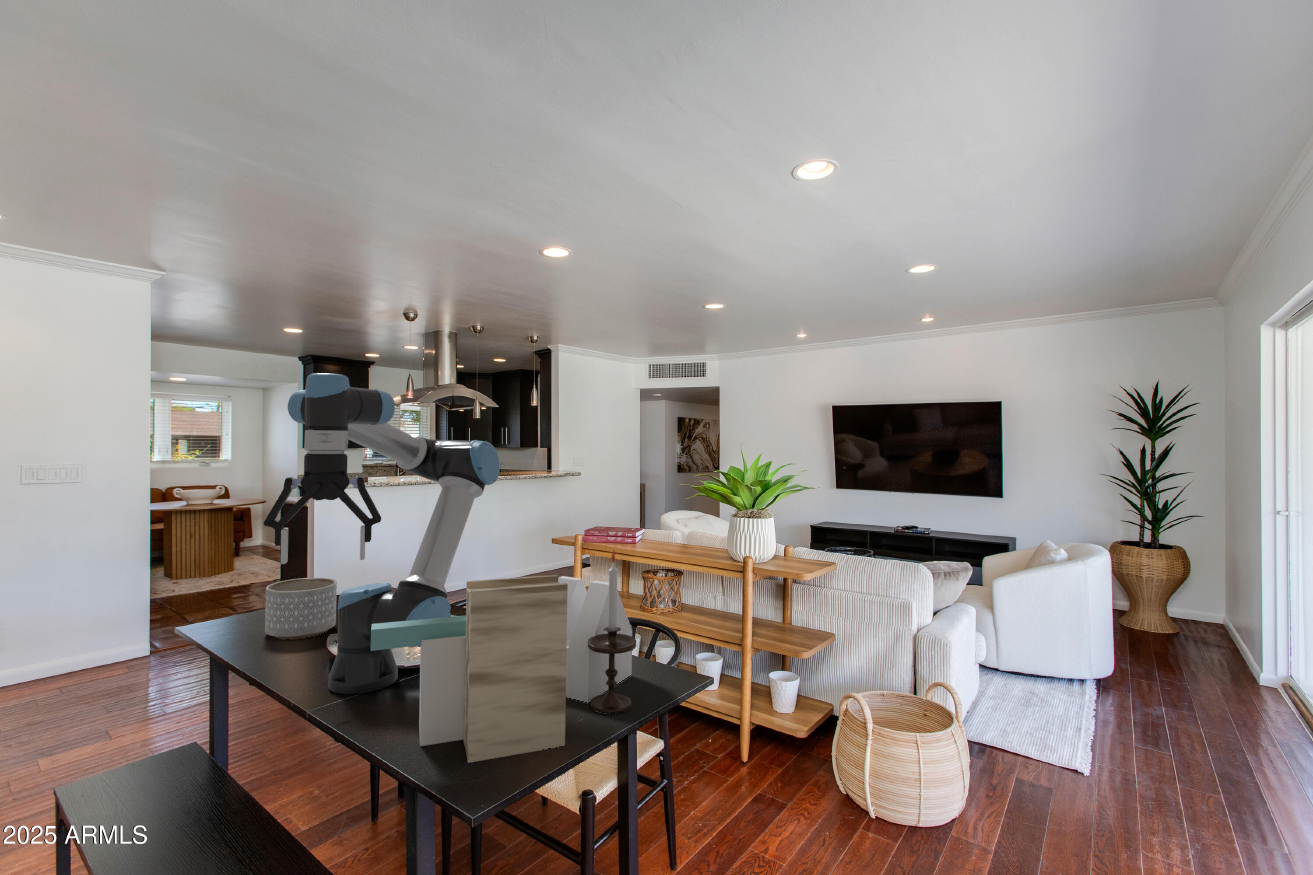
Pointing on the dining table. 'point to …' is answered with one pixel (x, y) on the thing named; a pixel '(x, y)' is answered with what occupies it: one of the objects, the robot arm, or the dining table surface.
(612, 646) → the candlestick
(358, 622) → the robot arm
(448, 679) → the white lidded box
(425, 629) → the bar
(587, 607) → the white slotted block
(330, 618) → the planter
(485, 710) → the stand
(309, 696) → the dining table surface
